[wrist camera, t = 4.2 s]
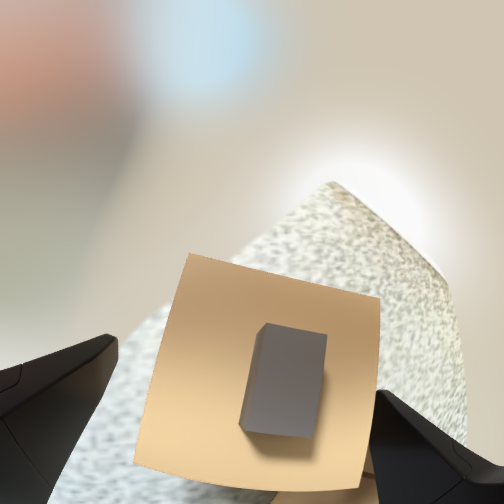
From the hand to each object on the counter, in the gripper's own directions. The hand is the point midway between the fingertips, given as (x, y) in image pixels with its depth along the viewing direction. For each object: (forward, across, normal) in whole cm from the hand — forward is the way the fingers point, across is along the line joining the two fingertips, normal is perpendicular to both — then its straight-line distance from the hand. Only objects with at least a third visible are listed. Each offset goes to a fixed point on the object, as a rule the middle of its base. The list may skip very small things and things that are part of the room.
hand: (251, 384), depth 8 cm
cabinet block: (+6, 0, +6) cm, 8 cm away
